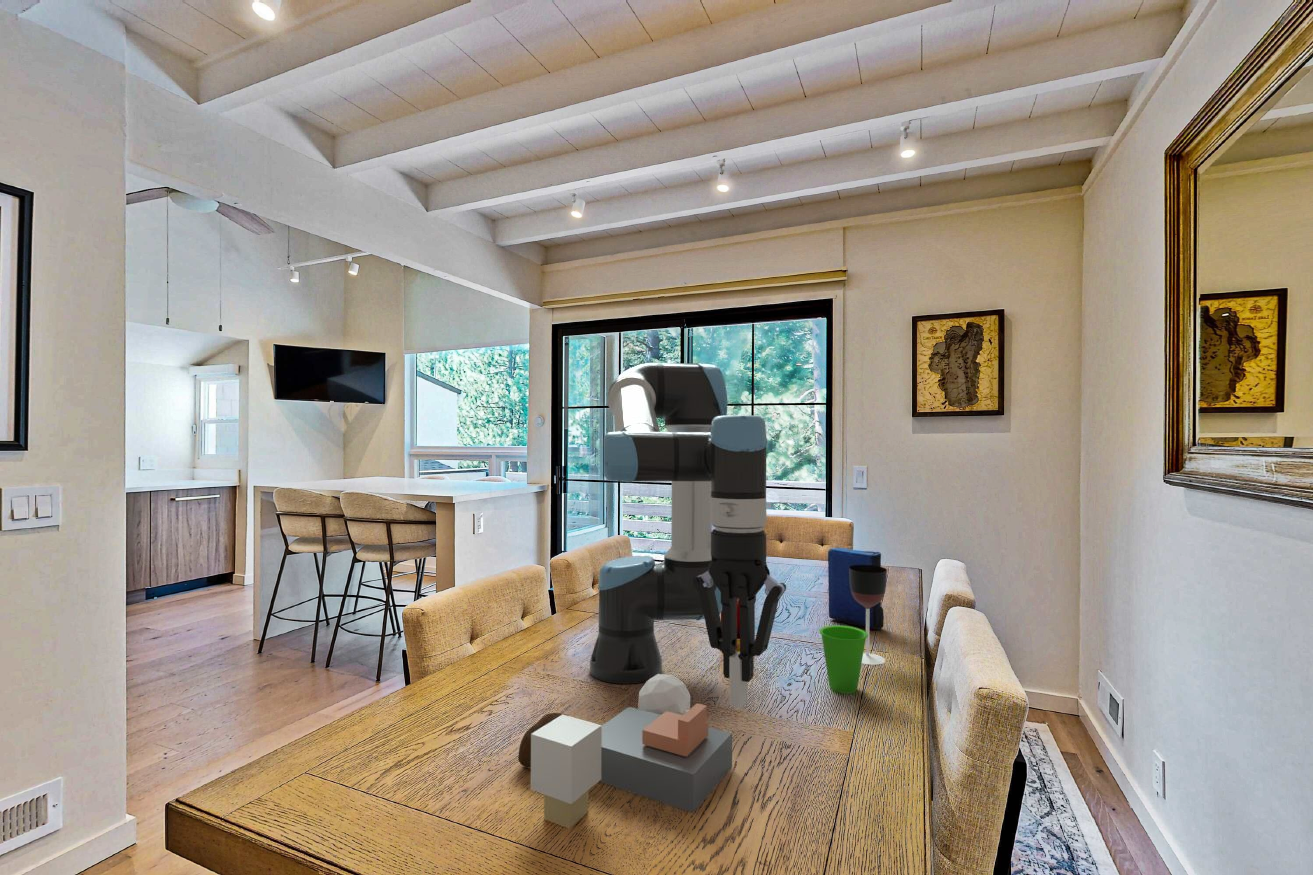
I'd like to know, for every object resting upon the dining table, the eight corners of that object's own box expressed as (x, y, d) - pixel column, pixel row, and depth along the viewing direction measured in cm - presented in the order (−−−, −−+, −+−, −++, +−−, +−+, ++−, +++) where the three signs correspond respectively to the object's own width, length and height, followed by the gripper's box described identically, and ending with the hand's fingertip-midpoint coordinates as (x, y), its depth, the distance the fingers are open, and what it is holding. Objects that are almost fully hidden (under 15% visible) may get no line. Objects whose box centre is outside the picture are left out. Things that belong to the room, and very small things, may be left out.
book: (886, 628, 158) (886, 551, 158) (875, 633, 155) (875, 553, 155) (836, 616, 169) (836, 544, 169) (826, 620, 165) (826, 546, 165)
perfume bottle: (620, 716, 103) (670, 752, 94) (637, 662, 104) (688, 692, 95) (653, 716, 109) (704, 749, 100) (669, 665, 110) (721, 694, 101)
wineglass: (847, 662, 134) (847, 570, 134) (850, 649, 142) (850, 563, 142) (886, 667, 131) (886, 573, 131) (887, 654, 139) (887, 566, 139)
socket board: (580, 775, 88) (580, 740, 88) (628, 737, 99) (628, 706, 99) (693, 813, 79) (693, 774, 79) (731, 766, 91) (732, 732, 91)
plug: (530, 820, 78) (531, 733, 78) (562, 795, 83) (562, 714, 83) (571, 837, 74) (571, 746, 74) (601, 809, 80) (601, 725, 80)
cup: (870, 699, 114) (871, 640, 114) (820, 695, 116) (820, 637, 116) (864, 681, 123) (864, 626, 123) (818, 677, 125) (818, 623, 125)
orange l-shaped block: (642, 743, 87) (642, 712, 87) (666, 724, 93) (666, 694, 93) (686, 756, 83) (686, 723, 83) (708, 735, 89) (708, 704, 89)
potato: (508, 762, 92) (509, 715, 92) (570, 741, 98) (570, 698, 98) (529, 783, 86) (529, 733, 86) (592, 760, 93) (593, 713, 93)
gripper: (683, 528, 83) (682, 703, 83) (775, 535, 77) (775, 724, 76) (706, 522, 90) (706, 684, 89) (793, 528, 83) (793, 703, 83)
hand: (738, 702), depth 83 cm, fingers closed
